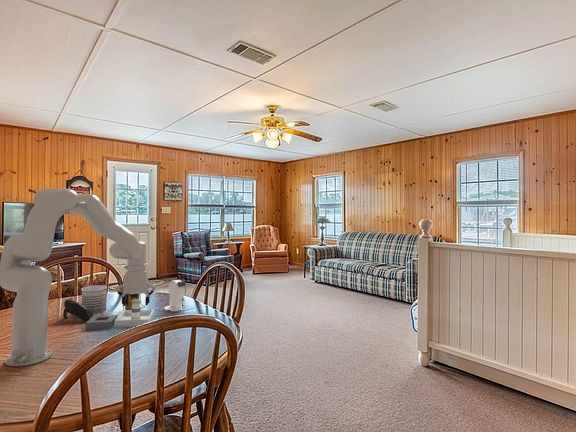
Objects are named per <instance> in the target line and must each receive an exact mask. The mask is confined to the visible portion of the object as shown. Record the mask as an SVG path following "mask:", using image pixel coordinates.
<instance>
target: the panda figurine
mask: <svg viewBox="0 0 576 432" xmlns="http://www.w3.org/2000/svg"><path fill="white" fill-rule="evenodd" d="M186 284H187V283H186V281H185V280H183V281H182V280H181V279H177V278H175V277H174V278H170V279H168V294H169V305H167V306H164V311H167V310H170V311H169V312H179V311H178V310H181V311H184V310H183V309H182V305H183V302H184V301H185V300H184V297H185V294H186V293H187V290H186ZM172 306H173V309H171V308H172ZM174 306H175V308H174Z"/></svg>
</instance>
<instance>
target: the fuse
mask: <svg viewBox="0 0 576 432" xmlns="http://www.w3.org/2000/svg"><path fill="white" fill-rule="evenodd" d="M131 303H132V309H131V312H132V314H131V320H134V319H140V309H141V304H142V300H141V299H140V298H139V299H133V300H131Z"/></svg>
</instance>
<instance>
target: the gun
mask: <svg viewBox="0 0 576 432" xmlns="http://www.w3.org/2000/svg"><path fill="white" fill-rule="evenodd" d="M63 307H64V310H63V313H62V317H63V319H64V320H67V319H68V314H70V315H71V316H73V315H74V316H75V317H77V318H78V319H79V320H81V321H82V322H84V323H86V322H87V321H88V320H90V319H91V318H92V317H93V316H94V314H93V313H92V312H91V311H90V310H88V309H87V308H86V307H84V306H83V305H82V303H80V302H78V301H75V300H73V299H71V298H70V299H69V298H68V299H65V300H64V303H63Z"/></svg>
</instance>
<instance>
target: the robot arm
mask: <svg viewBox="0 0 576 432" xmlns="http://www.w3.org/2000/svg"><path fill="white" fill-rule="evenodd" d="M32 200H33V201H32V202H33V204H34V206H33V207H32V208H31V210H30V211H29V212H28V215H27V218H26V222H25V225H24V229H23V232H17V233H15V234H13V235H11V236H9V238H8V239H6V241H5V243H4V244H3V248H2V251H1V256H0V287H1V288H2V289H4V290H6V291H9V292H13V293H16V296H15V299H14V301H13V305H12V312H11V313H12V316H11V317H12V321H11V326H12V327H11V355H8V356H7V357H6V358H5V365H7V366H9V367H25V366H31V365H35V364H39V363H41V362H43V361H47V360H48V359H50V358H51V357H52V356H53V350H52V349H50V348H48V322H49V321H48V318H49V317H48V316H49V315H48V314H49V313H48V311H49V310H48V309H49V308H48V306H49V295H50V290H51V287H52V283H53V282H52V281H53V280H52V279H53V278H52V274H51V273H50V271H49V270H48V269H47V268H45V267H43V266H41V265H35V264H32V262H41V261H45V260H46V259H48V258H49V257H50V255H51V254H52V250H53V244H54V238H55V232H56V227H57V223H58V222H59V220H60V218H61V217H62V216H63V215H71V216H83V217H84V219H85V221H87V223H88V224H89V225H90V227H92V229H93V231H94V232H95V233H96V234H98V235H99V236H102V237H103V238H106V239H108V240H111V241H113V242H114V243H113V244H111V245H110V247H109V250H108V251H109V255H110V257H113V258H114V259H117V260H127V265H124V269H126V270H127V271H125V274H124V275H125V277H123V279H124V283H122V284H120V285H119V286H117V287H115V291H116V292H117V295H119V296H120V297H121V305H122V307H125V305H126V294H144V295H145V301H144V302H145V303H144V306H145V307H146V306H148V305H149V304H150V303H151V302H150V298H151V297H150V296H152V294H154V292H155V291H156V289H157V286H156V285H154V284H152V283H149V276H148V271H147V270H146V268H147V267H146V264H147V263H146V262H147V243H146V242H145V241H140V240H138V238H137V237H136V236H135V235H134V234H133V232H131V231H130V230H129V229H127V228H126V227H125V226H123V225H122V224H121V223H119V222H118V221H116V220H115V219H114V218H113V216H112V214H111V212H109V210H108V209H107V207H106V206H105V204H104V203H103V202H102V200H101V199H100V198H99V197H98V196H96V195H95V194H90V193H77V192H76V191H75V190H73V189H71V188H64V187H63V188H43V189H40V190H38V191H37V192H36V193H35V194H34V195H33V199H32ZM150 288H151V291H149V289H150ZM121 289H122V291H121Z"/></svg>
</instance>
